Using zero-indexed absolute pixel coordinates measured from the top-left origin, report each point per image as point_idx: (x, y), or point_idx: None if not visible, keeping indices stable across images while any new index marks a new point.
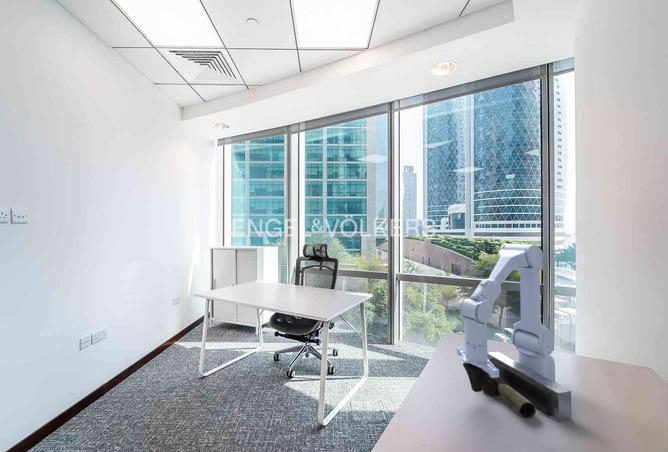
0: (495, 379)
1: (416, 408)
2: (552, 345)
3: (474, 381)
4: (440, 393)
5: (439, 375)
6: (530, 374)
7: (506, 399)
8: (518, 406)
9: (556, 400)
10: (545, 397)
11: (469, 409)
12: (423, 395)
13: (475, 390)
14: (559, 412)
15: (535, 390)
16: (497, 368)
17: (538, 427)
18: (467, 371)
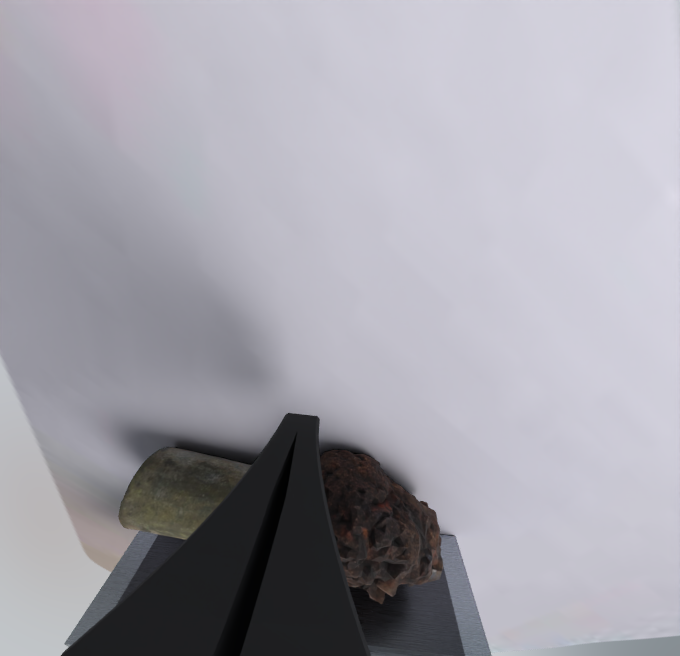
0: None
1: None
2: None
3: (232, 490)
4: (467, 239)
5: (619, 382)
6: None
7: (226, 480)
8: (143, 481)
9: (109, 590)
10: (140, 580)
11: (254, 297)
12: (544, 30)
13: (281, 423)
14: (137, 536)
15: None
16: (399, 608)
17: (123, 444)
18: (307, 584)
